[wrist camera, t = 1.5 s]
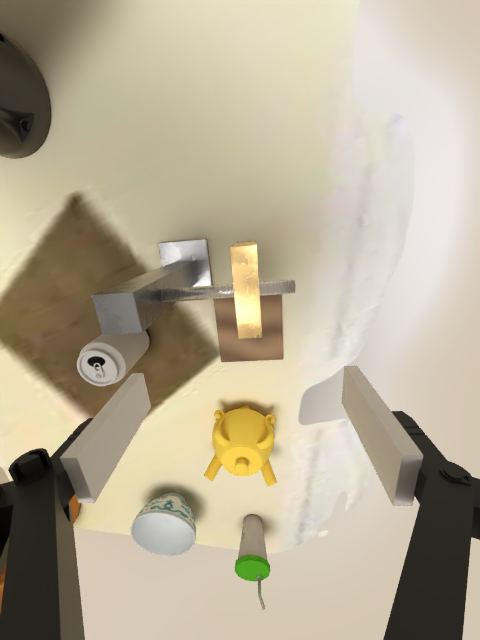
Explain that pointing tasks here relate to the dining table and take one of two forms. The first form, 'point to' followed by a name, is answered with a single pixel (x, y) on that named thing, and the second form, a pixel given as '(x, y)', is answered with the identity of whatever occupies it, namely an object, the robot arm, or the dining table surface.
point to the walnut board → (250, 347)
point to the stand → (167, 289)
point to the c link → (246, 289)
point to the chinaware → (165, 526)
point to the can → (111, 357)
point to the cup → (253, 553)
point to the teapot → (242, 443)
